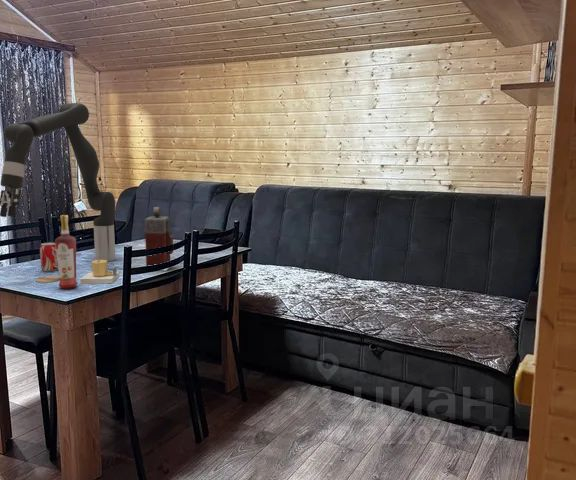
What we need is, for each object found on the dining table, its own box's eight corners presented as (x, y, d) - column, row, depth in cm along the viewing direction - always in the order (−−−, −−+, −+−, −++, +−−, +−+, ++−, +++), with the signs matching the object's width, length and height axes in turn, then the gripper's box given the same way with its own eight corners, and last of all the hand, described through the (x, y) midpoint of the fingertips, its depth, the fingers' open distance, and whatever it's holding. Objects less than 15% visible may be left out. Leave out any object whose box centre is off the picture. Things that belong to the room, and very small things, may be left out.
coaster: (41, 277, 216) (41, 276, 216) (63, 277, 216) (63, 275, 216) (32, 282, 207) (32, 281, 207) (55, 282, 208) (55, 281, 208)
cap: (95, 273, 215) (94, 258, 214) (113, 273, 215) (113, 258, 214) (90, 276, 209) (90, 261, 208) (110, 276, 209) (109, 261, 208)
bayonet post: (89, 276, 218) (89, 260, 217) (119, 276, 219) (119, 260, 218) (80, 283, 206) (79, 266, 205) (112, 283, 207) (111, 266, 206)
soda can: (52, 272, 225) (50, 245, 223) (37, 271, 226) (35, 244, 224) (62, 269, 232) (60, 242, 230) (48, 268, 233) (46, 242, 231)
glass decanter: (171, 271, 230) (170, 208, 226) (146, 270, 230) (144, 207, 225) (175, 266, 239) (174, 206, 234) (151, 266, 239) (149, 205, 234)
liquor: (81, 285, 204) (77, 214, 199) (74, 290, 197) (70, 216, 192) (62, 285, 203) (58, 214, 199) (54, 290, 196) (50, 216, 192)
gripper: (30, 176, 198) (24, 218, 197) (16, 178, 208) (10, 218, 207) (9, 171, 193) (2, 214, 192) (-4, 174, 203) (-11, 215, 201)
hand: (6, 216), depth 199 cm, fingers open, 8 cm apart
